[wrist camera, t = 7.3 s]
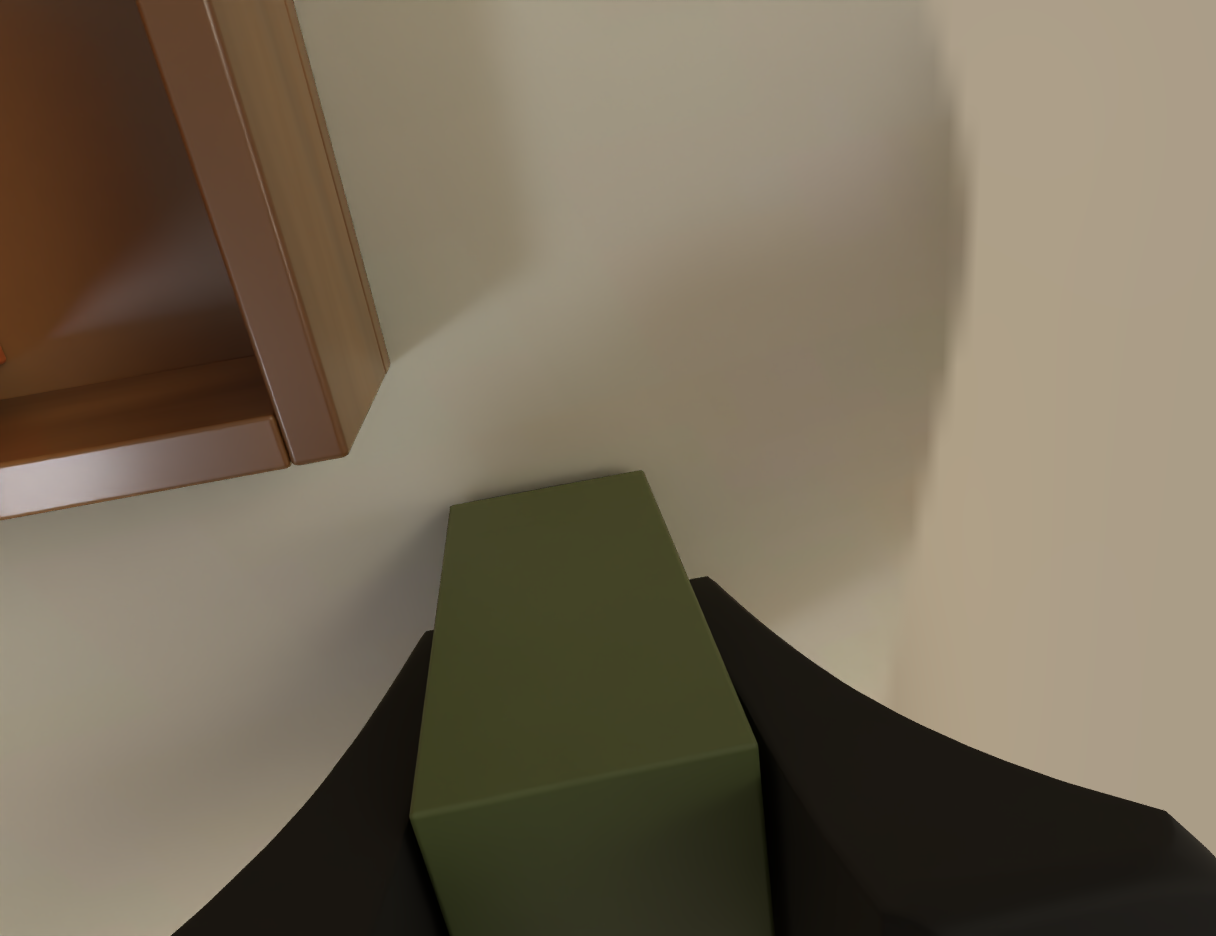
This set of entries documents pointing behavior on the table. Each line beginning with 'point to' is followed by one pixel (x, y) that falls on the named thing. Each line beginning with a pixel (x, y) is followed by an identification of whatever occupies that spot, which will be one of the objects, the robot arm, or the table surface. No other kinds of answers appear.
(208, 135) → the wooden tray
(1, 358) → the orange rectangular block
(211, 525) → the table surface
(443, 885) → the block
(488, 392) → the table surface
